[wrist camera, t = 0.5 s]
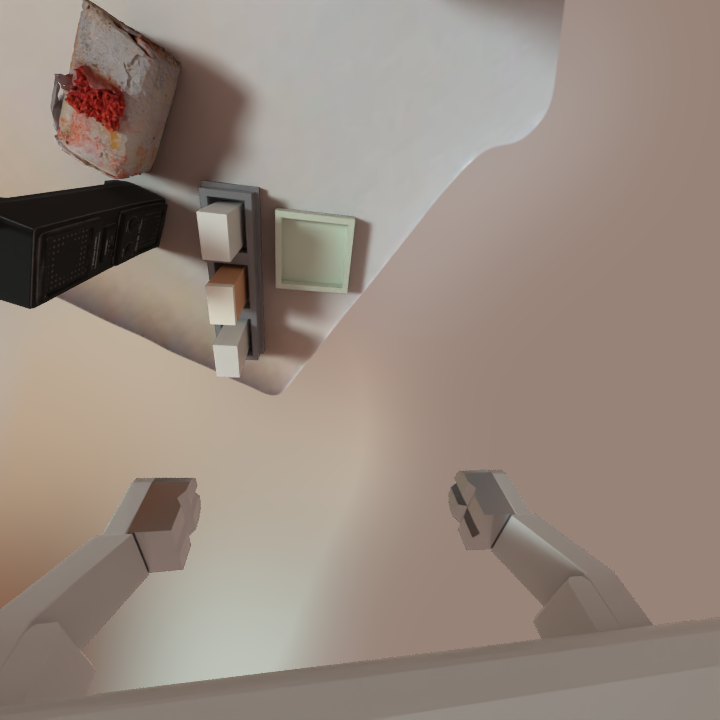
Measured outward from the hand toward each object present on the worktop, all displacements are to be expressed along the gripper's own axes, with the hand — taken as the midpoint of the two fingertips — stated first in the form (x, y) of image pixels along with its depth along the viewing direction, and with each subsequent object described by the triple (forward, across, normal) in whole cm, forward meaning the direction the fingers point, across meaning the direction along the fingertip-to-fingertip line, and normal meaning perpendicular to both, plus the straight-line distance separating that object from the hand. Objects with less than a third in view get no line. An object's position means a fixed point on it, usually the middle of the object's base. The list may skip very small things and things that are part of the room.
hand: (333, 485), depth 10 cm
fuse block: (+43, +11, +8) cm, 45 cm away
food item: (+43, +21, -11) cm, 49 cm away
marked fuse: (+42, +11, +8) cm, 44 cm away
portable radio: (+43, +23, +1) cm, 49 cm away
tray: (+43, 0, +3) cm, 43 cm away
